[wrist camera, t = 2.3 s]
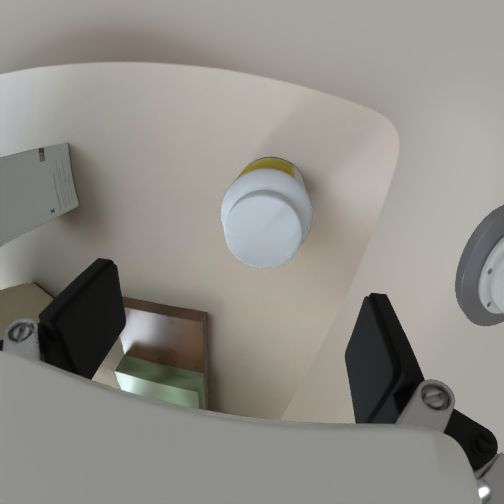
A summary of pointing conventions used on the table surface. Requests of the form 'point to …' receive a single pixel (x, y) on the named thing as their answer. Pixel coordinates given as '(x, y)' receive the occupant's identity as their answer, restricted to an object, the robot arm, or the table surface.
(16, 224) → the cosmetic box
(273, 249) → the pill bottle
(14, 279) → the table surface
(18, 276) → the table surface
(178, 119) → the table surface
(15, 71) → the table surface
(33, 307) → the flower pot
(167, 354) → the tier shelf
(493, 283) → the robot arm
